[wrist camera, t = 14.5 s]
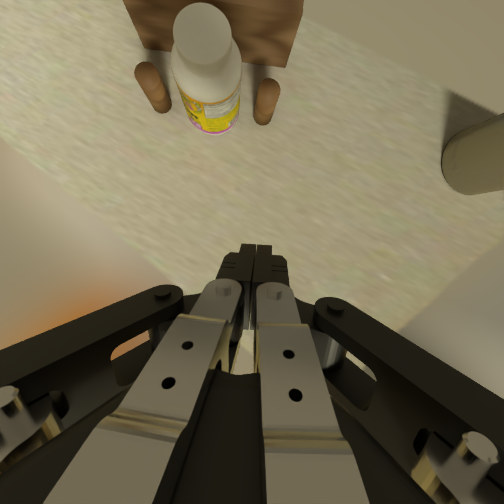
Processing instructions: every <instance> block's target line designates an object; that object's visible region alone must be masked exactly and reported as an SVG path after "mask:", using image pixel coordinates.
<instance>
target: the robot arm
mask: <svg viewBox="0 0 504 504" xmlns="http://www.w3.org/2000/svg"><path fill="white" fill-rule="evenodd" d="M442 169H443V174H444V176H445V179H446V180H447V182H448V184H449V185H450V186H451V187H452V188H453V189H454V190H456V191H458V192H459V193H462V194H465V195H475V194H482V193H488V192H494V191H500V190H504V113H502V114H500V115H498V116H496V117H493V118H491V119H489V120H487V121H484V122H482V123H480V124H478V125H476V126H473V127H471V128H469V129H467V130H464V131H462V132H460V133H459V134H457V135H455V136H454V137H453V138H452V139H451V140H450V141H449V143H448V144H447V146H446V148H445V150H444V153H443V158H442ZM250 313H251V320H250ZM249 321H250V330H254V343H253V362H254V363H253V372H254V373H252V374H244V375H234V374H233V371H234V367H235V363H236V359H237V355H238V351H239V347H240V338H241V336H242V332H243V329H247V330H248V329H249ZM147 330H148V332H149V338H150V340H148V341H146V342H144V343H142V344H141V345H139V346H137V347H135V348H134V349H132V350H130V351H128V352H126V353H125V354H123V355H121V356H119V357H117V358H115V359H114V360H112V361H111V359H110V358H111V354H112V352H113V351H114V349H115V348H116V347H118V346H119V345H120V344H122V343H124V342H126V341H128V340H130V339H132V338H134V337H136V336H137V335H139V334H141V333H143V332H145V331H147ZM347 351H349V352H350V353H351V354H353V355H354V356H355V357H356V358H358V359H359V360H360V361H361V362H363V363H364V364H365V365H366V366H368V367H369V368H370V369H371V370H372V372H373V373H374V375H375V377H376V379H377V382H376V381H375V380H373V379H372V378H371V377H370V376H369V375H368V374H366V373H365V372H364V371H363V370H361V369H360V368H359V367H358V366H357V365H355V364H354V363H353V362H352V361H350V360H349V359H348V358H347V357H346V353H347ZM329 394H330V395H331V396H332V397H331V396H330V395H329ZM0 504H504V399H502V398H501V397H499V396H498V395H496V394H494V393H493V392H491V391H489V390H488V389H486V388H484V387H483V386H481V385H480V384H478V383H477V382H475V381H473V380H472V379H470V378H469V377H467V376H465V375H464V374H462V373H460V372H459V371H457V370H456V369H454V368H452V367H451V366H449V365H448V364H446V363H444V362H443V361H441V360H440V359H438V358H436V357H435V356H433V355H431V354H430V353H428V352H427V351H425V350H424V349H422V348H420V347H419V346H417V345H416V344H414V343H412V342H411V341H409V340H407V339H406V338H404V337H403V336H401V335H399V334H398V333H396V332H395V331H393V330H391V329H390V328H388V327H387V326H385V325H383V324H382V323H380V322H379V321H377V320H375V319H374V318H372V317H371V316H369V315H367V314H366V313H364V312H362V311H361V310H359V309H358V308H356V307H354V306H353V305H351V304H350V303H348V302H346V301H344V300H342V299H339V298H334V297H324V298H320V299H318V300H317V301H316V303H315V305H312V304H309V303H305V302H303V301H300V300H299V299H297V298H295V297H294V293H293V291H292V289H291V288H290V286H289V277H288V268H287V261H286V259H285V258H284V257H283V256H280V255H272V245H258V244H257V251H256V244H241V248H240V251H239V253H234V252H230V253H229V254H227V255H226V256H225V257H224V259H223V262H222V264H221V268H220V269H219V272H218V274H217V277H216V279H215V280H213V281H211V282H209V283H208V284H207V285H206V286H205V288H204V290H203V291H202V293H199V294H194V295H186V296H183V291H182V289H181V288H180V287H178V286H175V285H159V286H156V287H153V288H151V289H148V290H145V291H143V292H141V293H138V294H136V295H134V296H131V297H129V298H126V299H124V300H121V301H119V302H116V303H114V304H112V305H109V306H107V307H104V308H102V309H100V310H97V311H94V312H92V313H90V314H87V315H85V316H82V317H80V318H78V319H75V320H73V321H70V322H68V323H65V324H63V325H60V326H58V327H56V328H53V329H51V330H48V331H46V332H44V333H41V334H39V335H36V336H34V337H31V338H29V339H26V340H24V341H22V342H19V343H17V344H14V345H12V346H10V347H7V348H5V349H2V350H0Z"/></svg>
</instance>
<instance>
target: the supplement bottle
mask: <svg viewBox="0 0 504 504" xmlns="http://www.w3.org/2000/svg"><path fill="white" fill-rule="evenodd" d="M173 37H174V44H173V48H172V52H171V66H172V71H173V74H174V78H175V80H176V83H177V86H178V89H179V91H180V94H181V97H182V100H183V103H184V106H185V109H186V111H187V114H188V116H189V119H190V121H191V122H192V124H193V125H194V126H195V127H196V128H197V129H198V130H199V131H201V132H203V133H205V134H208V135H221V134H223V133H225V132H227V131H229V130H230V129H231V128H232V127H233V126H234V124H235V123H236V121H237V118H238V114H239V104H240V87H241V74H242V60H241V55H240V51H239V49H238V46H237V44H236V43H235V41H234V39H233V38H232V33H231V28H230V24H229V22H228V20H227V18H226V16H225V15H224V14H223V13H222V12H221V11H220V10H219V9H218V8H216V7H215V6H213V5H211V4H208V3H201V2H200V3H193V4H190V5H188V6H186V7H185V8H184V9H182V10H181V11H180V12H179V14H178V15H177V17H176V19H175V22H174V25H173Z"/></svg>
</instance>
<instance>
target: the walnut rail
mask: <svg viewBox="0 0 504 504" xmlns="http://www.w3.org/2000/svg"><path fill="white" fill-rule="evenodd" d="M123 2H124V4H125V7H126V9H127V11H128V13H129V15H130V17H131V20H132V22H133V24H134V26H135V28H136V30H137V33H138V35H139V37H140V39H141V41H142V44H143V46H144V48H147V49H154V50H161V51H169V52H172V48H173V44H174V37H173V25H174V22H175V19H176V17H177V15H178V14H179V12H180V11H181V10H182V9H184V8H185V7H186V6H188V5H190V4H193V3H200V2H201V3H208V4H211V5H213V6H215V7H216V8H218V9H219V10H220V11H221V12H222V13H223V14H224V15H225V16H226V18H227V20H228V22H229V24H230V28H231V33H232V38H233V39H234V41H235V43H236V44H237V46H238V49H239V51H240V55H241V60H242V62H247V63H254V64H262V65H269V66H276V67H283V68H285V67H286V64H287V61H288V58H289V55H290V52H291V48H292V45H293V42H294V39H295V36H296V33H297V30H298V27H299V24H300V21H301V17H302V14H303V2H304V0H123Z"/></svg>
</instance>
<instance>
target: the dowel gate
mask: <svg viewBox="0 0 504 504" xmlns="http://www.w3.org/2000/svg"><path fill="white" fill-rule="evenodd" d="M134 74H135V78H136V80H137V81H138V83H139V85H140V86H141V88H142V90H143V91H144V93H145V95H146V96H147V98H148V100H149V101H150V103H151V105H152V106H153V108H154V109H155V111H157V112H158V113H162V114H163V113H167V112H168V111H169V110H170V109H171V106H172V103H171V100H170V98H169V95H168V93H167V91H166V89H165V86H164V84H163V82H162V79H161V77H160V75H159V73H158V70H157V68H156V67H155V66H154V65H153V64H152V63H150V62H141V63H139V64H138V65H137V66H136V68H135V71H134ZM279 95H280V86H279V84H278V82H277V81H275V80H274V79H271V78H267V79H264V80H263V81H262V82H261V83H260V85H259V88H258V94H257V99H256V104H255V110H254V120H255V122H256V123H257V124H259V125H267V124H268V123H269V122H270V121H271V118H272V115H273V112H274V109H275V106H276V103H277V101H278V98H279Z"/></svg>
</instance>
